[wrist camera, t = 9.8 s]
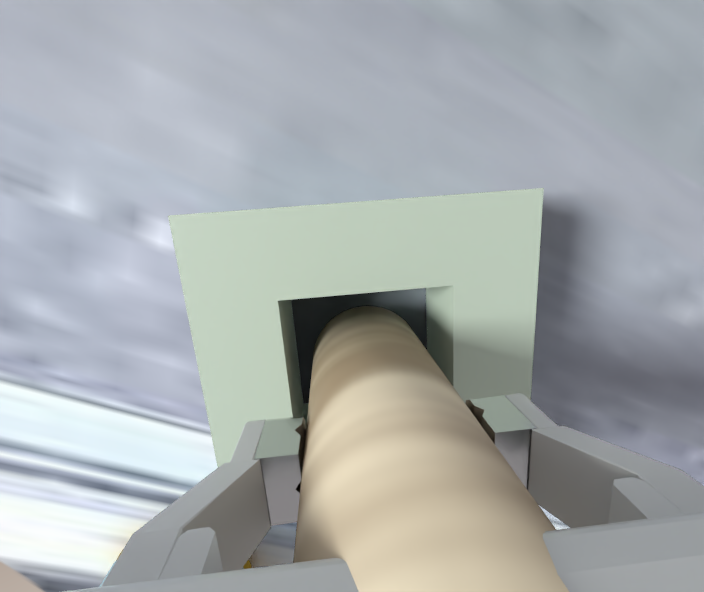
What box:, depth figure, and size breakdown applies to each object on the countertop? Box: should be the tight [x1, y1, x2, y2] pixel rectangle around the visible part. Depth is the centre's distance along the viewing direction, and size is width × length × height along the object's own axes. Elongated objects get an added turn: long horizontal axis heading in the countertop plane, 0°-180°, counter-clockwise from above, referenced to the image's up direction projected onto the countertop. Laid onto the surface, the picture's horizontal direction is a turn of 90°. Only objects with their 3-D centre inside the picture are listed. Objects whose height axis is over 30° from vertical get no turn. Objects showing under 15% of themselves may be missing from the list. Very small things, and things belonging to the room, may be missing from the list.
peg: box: [293, 306, 569, 592], centre depth 9 cm, size 4×4×12 cm
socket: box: [168, 188, 544, 467], centre depth 14 cm, size 12×12×4 cm
